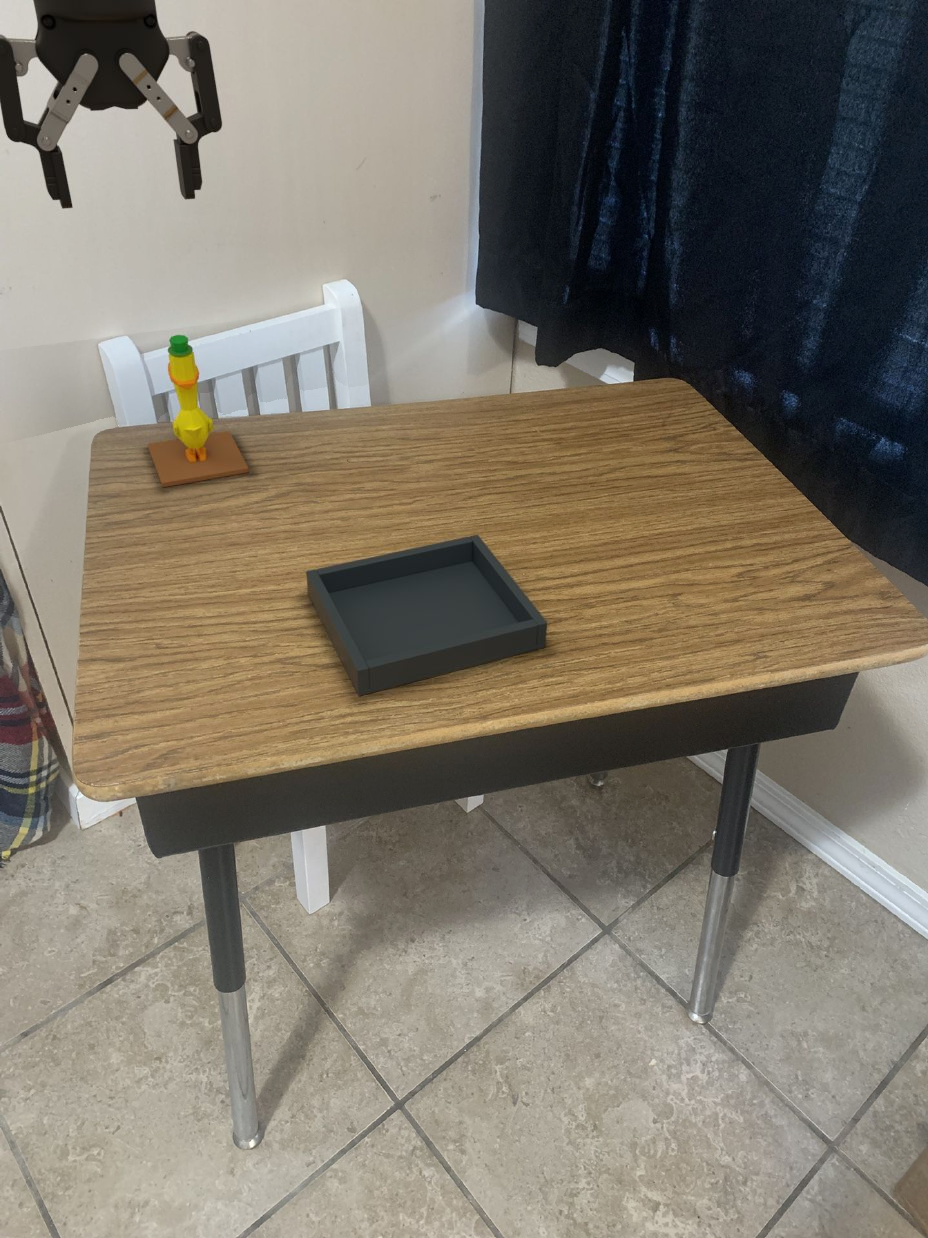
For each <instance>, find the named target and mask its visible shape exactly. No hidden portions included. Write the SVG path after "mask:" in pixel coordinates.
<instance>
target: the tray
mask: <svg viewBox="0 0 928 1238" xmlns="http://www.w3.org/2000/svg"><path fill="white" fill-rule="evenodd" d="M305 573H306V575H305V577H306V587H307V596H308V599H309V600H310V602H311V605H312V606H313V608H314V610H315V612H316V615H317V616H318V618H319V620H320V622H321V624H322V626H323V628H324V630H325V632H326V634H327V636H328V639H330V642H331V644H332V646H333V648H334V650H335V652H336V654H337V656H338V657H339V660H340V662H341V664H342V665H343V668H344V669H345V671H346V673H347V675H348V677H349V680H350V681H351V684H352V685H353V687H354V689H355V692H356V693H357V696H359V697H362V696H366V695H369V694H373V693H377V692H380V691H384V690H388V689H392V688H395V687H400V686H403V685H407V684H412V683H415V682H419V681H423V680H427V679H430V678H434V677H438V676H442V675H445V674H449V673H453V672H457V671H461V670H465V669H468V668H472V667H475V666H479V665H484V664H487V663H491V662H494V661H495V662H496V661H500V660H502V659H506V658H511V657H514V656H518V655H523V654H525V653H530V652H533V651H537V650H542V649H545V648H546V642H547V641H546V639H547V631H548V621H547V620H546V618H545V617H544V616H543V615H542V613H540V611H539V610H538V609H537V607H536V606H535V605H534V603H533V602H532V601H531V600H530V598H529V597H528V596H527V595H526V593H525V592H524V591H523V590H522V588H521V587H520V586H519V585H518V583H517V582H516V581H515V580H514V578H513V577H512V576H511V575H510V573H509V572H508V570H506V568H505V567H504V566H503V565H502V563H501V562H500V560H499V559H498V558H497V557H496V556H495V554H494V553H493V552H492V550H491V549H490V548H489V547H488V545H487V544H486V543H485V542H484V541H483V539H482V537H480V535H479V534H474V535H470V536H464V537H459V538H455V539H450V540H446V541H440V542H436V543H432V544H427V545H421V546H418V547H413V548H407V549H403V550H398V551H395V552H389V553H386V554H385V553H384V554H381V555H375V556H371V557H366V558H361V559H357V560H352V561H347V562H343V563H339V564H333V565H328V566H324V567H319V568H316V569H315V568H314V569H310V570H306V571H305Z"/></svg>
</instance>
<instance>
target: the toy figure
mask: <svg viewBox="0 0 928 1238" xmlns="http://www.w3.org/2000/svg"><path fill="white" fill-rule="evenodd" d="M169 344H170V346H169V347H168V348H167V352H168V361H169V362H168V364H167V373H168V376H169V379H170V382H172V383H173V387H174V390H175V393H176V397H177V399H178V403H179V406H180V410H179V412H178V414H177V415H176V417H175V419H174V421H173V422H172V423H171V424H172V429H173V430H172V431H173V434H174V435H175V437H177V439H180V440H181V441H182V442H183V443H184V444H185V445H186V446H187V447H188V449H186V450H185V452H186V457H187V459H188V460H189V461H190V462H196V452H195V449H196V451H197V457H198V458H199V460H200V461H206V457H207V453H206V448H205V447H203V445H204V443H205V441H206V439H207V437H208V436H209V434H211V432H212V433H213V432H214V422H213V419H212V417H209V416H208V415H207V414H206V412H204V411H203V410H202V409H201V408H200V407H199V391H198V387H199V385H198V381H199V379H200V371H199V368H198V365H196V358H195V352H194V351H193V350H194V349H193V346H192V345H190V344H189V338H188V337H187V336H186V335H184V334H175V335H173V336H172V335H171V336H170V338H169Z"/></svg>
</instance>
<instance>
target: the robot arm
mask: <svg viewBox="0 0 928 1238" xmlns="http://www.w3.org/2000/svg"><path fill="white" fill-rule="evenodd" d="M32 1H33V6H34V11H35V15H36V23H37V29H36V34H35V37H34V39H33V38H32V39H30V38H13V37H11V38H9V37H6V36H5V35H3V34H0V110H1V111H0V112H1V116H2V122H3V123H2V124H3V128H4V131H5V134H6V136H7V138H8V139H9V140H10V141H11V142H13V143H22V144H26V145H29V146H31V147H33V148H35V149H36V150H37V152H38V154H39V159H40V163H41V168H42V173H43V178H44V182H45V187H46V191H47V193H48V195H49V196H50V198H51V199H52V201H59V203H60V206H61V209H73V207H74V206H73V201H72V196H71V191H70V187H69V181H68V177H67V171H66V165H65V161H64V156H63V152H62V150H61V147H60V145H58V143H59V141H60V139H61V137H62V135H63V133H64V131H65V129H66V127H67V126H68V124H70V123H71V120H72V118H73V117H74V115H75V113H76V112H77V109H78V107H79V106H81V107H83V108H84V109H85V108H86V109H88V110H90V112H95V111H96V112H97V111H105V110H108V109H111V108H118V109H123V110H139V107H141V106H143V105H144V104H145V103H147V101H148V102H149V104H150V105H151V106H152V107H153V108H154V110H155V111H156V112H157V113H158V114H159V115H160V116H161V117H162V119H163V120H164V121H165V122H166V123H167V125H168V126H169V127H170V128H171V129H172V130H173V132H174V133H175V135H176V138H174V139H173V147H174V154H175V162H176V171H177V177H178V184H179V190H180V194H181V196H182V198H183V199H184V200H196V192H195V191H201V190H202V186H203V185H202V184H203V175H202V168H201V159H200V158H201V157H200V151H199V143H200V141H201V139H202V138H203V137H205V136H207V135H209V134H212V133H218V132H219V131H221V129H222V127H223V120H222V114H221V113H222V112H221V108H220V100H219V95H218V88H217V81H216V77H215V70H214V65H213V64H214V63H213V57H212V52H211V51H212V50H211V44H210V41H209V40H208V38H206V37H205V36H204V35H202V34H200V33H199V32H197V31H195V30H191V31H189V32H187V33H186V34H185V35H180V36H168V37H165V35H164V34H163V31H162V30H161V27H160V24H159V19H158V14H157V5H156V0H32ZM171 55H172V56H175V58H176V59H177V61H178V64H179V66H180V67H181V68H182V69H183V70H184V71H185V72H187V73H190V78H191V84H192V89H193V96H194V101H195V106H196V112H195V113H194V114H191V115H189V116H187V117H186V115H185V114H184V113H183V112H182V111H181V110H180V109H179V106H177V105H176V103H175V102H174V101H173V100H172V99H171V98H170V96H169V95H168V93H166V92H165V91H164V89H163V88H162V87H161V86H160V84H159V83H158V80H159V78H161V75H162V73H163V71H164V69H165V67H166V65H167V63H168V61H169V58H170V56H171ZM35 58H38V61H39V62H40V63H41V64H42V65H43V67H44V68H45V69H46V70H47V71H48V72H49V73H50V75H51V76H52V77H53V78H54V79H55V80H56V84H55V86H54V88H53V90H52V92H51V94H50V96H49V98H48V99H47V102H46V106H45V108H44V110H43V112H42V114H41V116H40V118H39V120H38V122H37V123H35V122H31V121H28V120H25V119H24V113H23V106H22V101H21V93H20V87H19V81H18V78H20V77H21V78H22V77H24V76H26V75H27V74H28V72H29V64H30V61H31V60H33V59H35Z"/></svg>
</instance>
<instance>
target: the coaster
mask: <svg viewBox="0 0 928 1238" xmlns="http://www.w3.org/2000/svg"><path fill="white" fill-rule="evenodd" d="M203 447H205V448H206V453H207V457H206V461H200V460H199V458H198V457H197V451H196V449H195V452H196V462H190V461H189V460H188V459H187V457H186V452H185V450H186V449H188V447H187V446H186V445H185V444H184V443H183V442H182V441H181V440H180V439H179V438H177V439H170V440H164V441H157V442H152V443H147V449H148V452H149V454H150V457H151V460H152V463H153V466H154V468H155V470H156V473H157V477H158V479H159V482H160V483H161V484H160V485H161V487H162V488H167V487H173V486H174V487H175V486H179V485H186V484H190V483H196V482H202V481H207V480H214V479H218V478H225V477H229V476H236V475H241V474H247V473H249V472H250V469H249V466H248V464H247V463H246V461H245V458H244V457H243V455H242V453H241V451H240V449H239V447H238V445H237V443H236V441H235V439H234V436H233V435H232V433H231V431H230V430H226V431H220V432H214V433H213V432H212V433H210V434H209V436H208V437H207V439H206V441H205V443H204V445H203Z"/></svg>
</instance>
